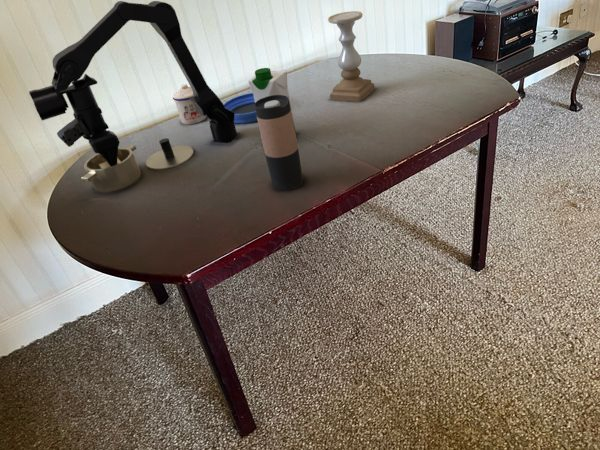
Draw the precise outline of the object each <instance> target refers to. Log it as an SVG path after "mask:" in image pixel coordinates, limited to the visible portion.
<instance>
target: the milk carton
mask: <svg viewBox="0 0 600 450" xmlns="http://www.w3.org/2000/svg"><path fill="white" fill-rule="evenodd" d="M248 84H249V87H250V89H251V93H253V95H254V100H255V103H256V102H257V101H258V100H260V99H262V98H264V97H268V96H272V95H284V96H287V97H288V98H289V102H290V107H291V108H292V105H291V104H292V103H291V99H290V93H289V88H288V71H287V70H271V68H269V67H261V68H259V69H256V70H255V71H254V76H253V77H252V78H250V79H249V80H248ZM291 113H292V114H293V111H292V109H291ZM293 117H294V116H293V115H292V118H293ZM293 119H294V118H293ZM294 121H295V120H293V123H294V128H295V134H296V135H297V131H296V126H295V122H294Z"/></svg>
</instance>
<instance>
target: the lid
mask: <svg viewBox="0 0 600 450" xmlns="http://www.w3.org/2000/svg"><path fill="white" fill-rule="evenodd" d="M158 143H159V145H160V148H161V150H158V151H156V152H155V153H153V154H151V155H149V157H148V158H146V161H145V165H146V167H147V168H148V169H150V170H153V171H164V170H169V169H174V168H176V167H179V166H182V165H183V164H185V163H187V162H188V161H190V160H191V159H192V158H193V156H194V153H195V151H194V149H193V148H192V147H191V146H188V145H173V146H172V145H171V142H170V139H169V138H167V137H166V138H161V139H159V142H158Z"/></svg>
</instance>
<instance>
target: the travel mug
mask: <svg viewBox="0 0 600 450" xmlns="http://www.w3.org/2000/svg"><path fill="white" fill-rule="evenodd" d="M289 99H290V97H289V98H288V97H287V96H284V95H272V96H268V97H264V98H262V99H260V100H258V101H257V102H256V103H255V111H256V115H257V120H258V121H257V124H258V128H259V133H260V138H261V143H262V148H263V152H264V156H265V160H266V163H267V168H268V171H269V174H270V179H271V183H272V186H273V188H274V189H276V190H278V191H290V190H294V189H296V188H298V187H300V186H301V185H302V183H303V179H304V178H303V171H302V166H301V158H300V149H299V145H298V140H297V133H296V134H295V130H296V127H295V128H294V125H295V122H294V123H293V121H294V118H292V116H293V112H292V113H291V110H292V106H291V107H290V104H291V101H290V102H289Z"/></svg>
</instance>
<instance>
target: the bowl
mask: <svg viewBox="0 0 600 450" xmlns="http://www.w3.org/2000/svg"><path fill="white" fill-rule="evenodd" d="M223 104H224V107H225V108H226V109H228V110H230V111H232V112H233V113H234V114H235V116H234V124H247V123H249V124H250V123H253V122H254V123H255V122H258V120H257V115H256V111H255V100H254V95H253V92H250V93H245V94H241V95H239V96H235V97H232V98H231V99H229V100H227V101H226V102H225V103H223Z"/></svg>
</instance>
